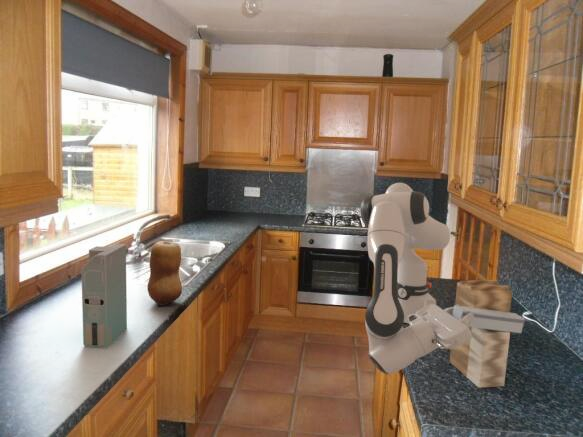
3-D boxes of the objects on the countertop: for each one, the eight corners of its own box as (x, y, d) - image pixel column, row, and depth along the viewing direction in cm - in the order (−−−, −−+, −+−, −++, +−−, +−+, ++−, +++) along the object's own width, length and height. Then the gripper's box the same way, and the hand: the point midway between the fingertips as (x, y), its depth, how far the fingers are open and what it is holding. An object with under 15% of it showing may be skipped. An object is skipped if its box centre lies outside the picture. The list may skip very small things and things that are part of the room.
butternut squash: (184, 307, 200) (184, 245, 196) (149, 310, 195) (148, 246, 191) (178, 296, 213) (178, 238, 209) (145, 299, 208) (144, 239, 204)
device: (105, 327, 177) (103, 242, 172) (127, 328, 177) (126, 244, 172) (83, 346, 161) (80, 254, 156) (107, 348, 160) (105, 255, 155)
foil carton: (459, 325, 141) (462, 310, 140) (450, 319, 145) (454, 305, 144) (521, 333, 145) (524, 318, 145) (511, 327, 150) (515, 313, 149)
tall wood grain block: (478, 387, 145) (488, 296, 140) (449, 362, 160) (457, 279, 156) (516, 385, 147) (527, 294, 143) (483, 360, 163) (492, 278, 159)
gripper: (438, 341, 131) (483, 314, 132) (405, 313, 150) (444, 290, 152) (447, 361, 132) (492, 333, 134) (413, 331, 152) (452, 307, 153)
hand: (466, 310), depth 143 cm, fingers closed on foil carton, 4 cm apart
